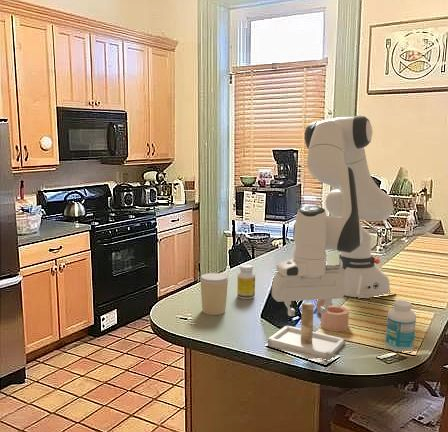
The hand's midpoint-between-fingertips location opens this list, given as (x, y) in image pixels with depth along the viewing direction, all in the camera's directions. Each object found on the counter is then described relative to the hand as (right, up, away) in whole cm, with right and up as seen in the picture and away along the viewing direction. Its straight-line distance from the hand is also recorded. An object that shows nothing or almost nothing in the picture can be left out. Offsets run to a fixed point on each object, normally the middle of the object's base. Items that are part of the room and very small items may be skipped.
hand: (307, 314), depth 139 cm
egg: (+10, -6, +25) cm, 28 cm away
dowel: (0, -8, +1) cm, 8 cm away
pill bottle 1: (-15, -2, +44) cm, 47 cm away
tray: (0, -9, +1) cm, 9 cm away
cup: (+11, -7, +14) cm, 19 cm away
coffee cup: (-27, -5, +29) cm, 39 cm away
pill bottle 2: (+26, -10, 0) cm, 27 cm away
